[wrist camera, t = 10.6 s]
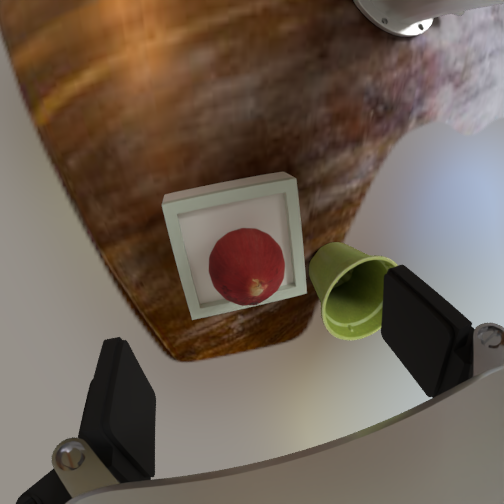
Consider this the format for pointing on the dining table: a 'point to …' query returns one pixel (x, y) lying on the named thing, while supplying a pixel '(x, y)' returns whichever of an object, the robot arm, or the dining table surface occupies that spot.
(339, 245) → the plant pot
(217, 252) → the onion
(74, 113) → the dining table surface
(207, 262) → the pedestal
